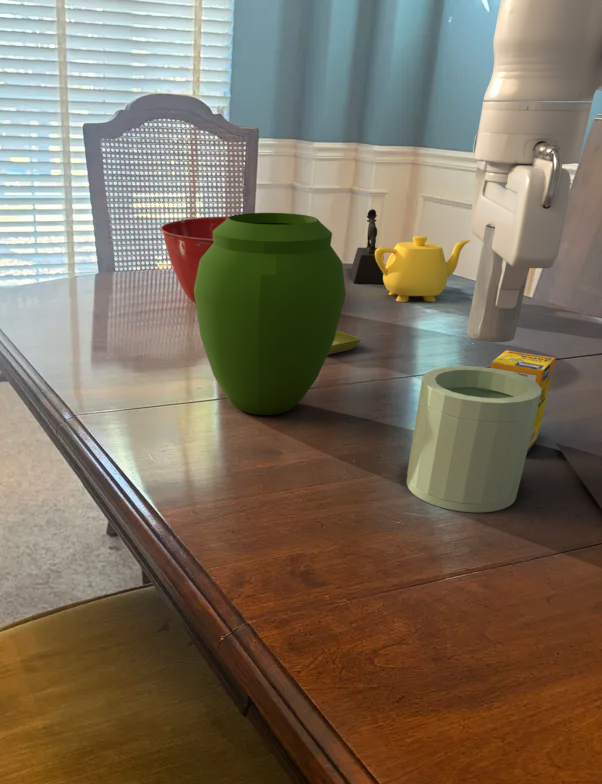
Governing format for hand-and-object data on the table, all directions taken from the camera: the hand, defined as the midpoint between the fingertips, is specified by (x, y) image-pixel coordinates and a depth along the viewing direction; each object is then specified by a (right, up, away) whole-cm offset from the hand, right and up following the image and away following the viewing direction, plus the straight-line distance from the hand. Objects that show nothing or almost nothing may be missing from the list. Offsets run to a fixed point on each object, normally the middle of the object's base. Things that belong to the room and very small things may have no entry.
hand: (497, 300), depth 75 cm
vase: (-20, -5, +32) cm, 38 cm away
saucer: (-7, +9, +57) cm, 59 cm away
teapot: (+18, +29, +92) cm, 98 cm away
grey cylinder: (0, -3, +2) cm, 4 cm away
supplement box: (+9, -12, +21) cm, 26 cm away
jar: (0, -18, +10) cm, 20 cm away
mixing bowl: (-22, +25, +84) cm, 91 cm away
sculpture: (+12, +39, +109) cm, 117 cm away
